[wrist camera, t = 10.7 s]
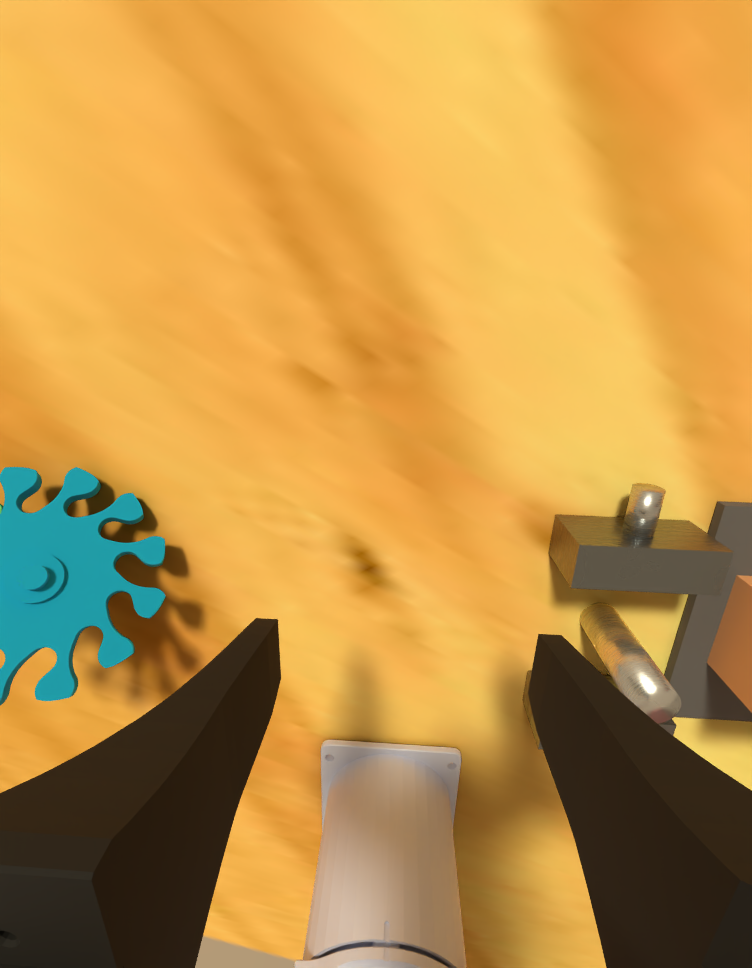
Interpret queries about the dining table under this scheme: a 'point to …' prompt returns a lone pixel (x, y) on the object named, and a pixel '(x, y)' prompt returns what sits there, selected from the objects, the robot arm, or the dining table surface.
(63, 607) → the gear
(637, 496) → the vise
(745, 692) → the collar
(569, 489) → the dining table surface
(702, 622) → the panel
